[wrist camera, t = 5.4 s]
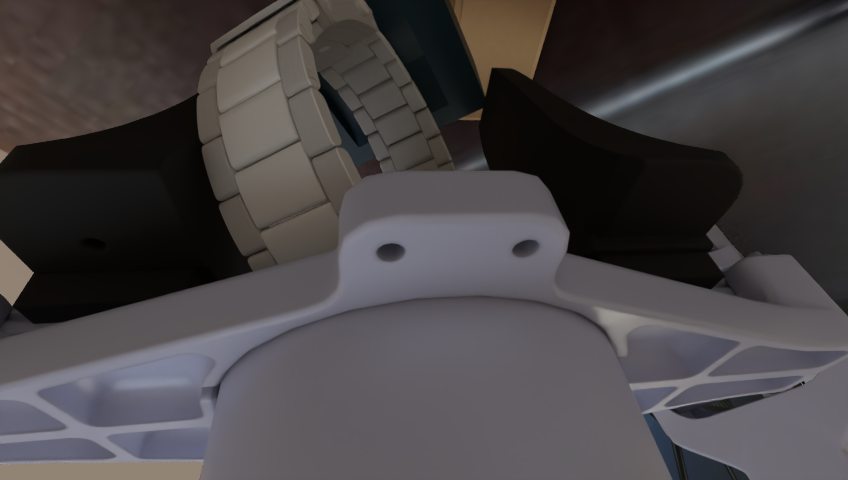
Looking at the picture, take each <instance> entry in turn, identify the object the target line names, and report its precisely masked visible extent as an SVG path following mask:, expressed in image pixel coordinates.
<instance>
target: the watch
mask: <svg viewBox="0 0 848 480" xmlns="http://www.w3.org/2000/svg"><path fill="white" fill-rule="evenodd" d="M211 52H212V54H213V55H212V56H211V57H210V58H209V59H208V62H207V63H208V65H206V66H205V68H204V69H203V71H202V74H201V76H200V80H199V84H198V93H199V94H200V95H199V96H198V98H197V124H198V133H199V138H200V141H201V142H202V143H203V144H205V145H204V146H203V147H202V154H203V159H204V163H205V167H206V170H207V174H208V177H209V180H210V183H211V186H212V189H213V192H214V195H215V197H216V199H217V200H219V201H224V202H222V203H220V205H219V209H220V212H221V214H222V217H223V219H224V221H225V223H226V226H227V228H228V230H229V232H230V234H231V236H232V238H233V240H234V242H235V243H236V245H237V247H238V249H239V251H240V252H241V254H242V255H243V256H249V255H251V254H253V255H252V256H250V257H249V258H248V263H249V265H250V267H251V268H252V270H253V271H257V270H261V269H264V268H268V267H272V266H276V265H279V264H283V263H287V262H291V261H294V260H298V259H302V258H306V257H309V256H313V255H317V254H321V253H324V252H328V251H332V250H334V249H336V248H337V247H338V238H339V212H340V209H341V205H342V202H343V198H344V195H345V192H347V191H348V190H349V189H350V188H352V187H353V186H354V185H355V184H357V183H358V182H359V181H361V180H362V179H361V177H360V175H359V173H358V171H357V169H356V166H358V165H360V164H362V163H365V162H367V161H369V160H371V159H373V158H377V159H378V160H379V161H380V160H382V159H385V158H387V157H389V156H391V157H390V158H387V159H385V160H383V161H381V162H380V166H381V169H382V171H383V173H385V172H390V171H403V170H406V169H408V168H410V167H413V166H415V165H417V164H420V163H422V162H424V161H426V160H429V159H431V158H433V157H434V159H432V160H429V161H427V162H425V163H422V164H420V165H418V166H415V167H413V168H411V169H409V170H406V171H456V169H455V167H454V164H453V163H452V162H450V161H452V158H451V156H450V153H449V151H448V149H447V147H446V144H445V142H444V140H443V138H442V136H441V135H438V134H440V130H439V128H441V127H443V126H445V125H448V124H450V123H452V122H454V121H456V120H459V119H461V118H463V117H465V116H467V115H469V114H472V113H474V112H476V111H478V110H480V109H483V105H484V101H485V94H484V90H483V87H482V84H481V81H480V78H479V74H478V71H477V68H476V65H475V62H474V59H473V56H472V54H471V52H470V49H469V47H468V44H467V42H466V39H465V37H464V34H463V32H462V29H461V27H460V24H459V22H458V20H457V17H456V15H455V12H454V10H453V7H452V5H451V2H450V0H278V1H276V2H274V3H273V4H271V5H270V6H268V7H266V8H265V9H263V10H262V11H260V12H258V13H257V14H255V15H254V16H252V17H251V18H249V19H248V20H246V21H244V22H243V23H241V24H240V25H238V26H237V27H235V28H234V29H232V30H231V31H229V32H228V33H226V34H225V35H223V36H222V37H220V38H219V39H218V40H216V41H215V42H213V43H212V44H211ZM435 135H438V136H436V137H434V138H432V139H429V138H431V137H433V136H435ZM428 139H429V140H428ZM448 162H450V163H448ZM445 163H448V164H445ZM443 164H445V165H443ZM441 165H443V166H441ZM439 166H441V167H439ZM327 200H330V201H329V202H327V203H325V204H323V205H320V206H318V207H316V208H313V209H311V210H309V211H307V212H304V213H302V214H300V215H297V216H295V217H293V218H291V219H288V220H286V221H284V222H281V223H279V224H277V225H275V226H272V227H270V228H269V226H270V225H272V224H274V223H277V222H279V221H281V220H283V219H286V218H288V217H290V216H292V215H295V214H297V213H299V212H302V211H304V210H306V209H308V208H311V207H313V206H315V205H317V204H320V203H322V202H324V201H327ZM265 248H267V249H265ZM263 249H265V250H263ZM261 250H262V251H261ZM258 251H260V252H258ZM256 252H258V253H256ZM254 253H255V254H254Z"/></svg>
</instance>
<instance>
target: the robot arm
mask: <svg viewBox="0 0 848 480" xmlns="http://www.w3.org/2000/svg"><path fill="white" fill-rule="evenodd" d="M199 95H200V94H199V93H197V94H195V95H194V96H192V97H191V98H189V99H187V100H185V101H183V102H181V103H179V104H177V105H175V106H173V107H170V108H168V109H166V110H164V111H161V112H159V113H156V114H154V115H151V116H148V117H145V118H142V119H139V120H136V121H133V122H130V123H128V124H125V125H121V126H118V127H114V128H110V129H107V130H103V131H99V132H94V133H90V134H85V135H81V136H76V137H71V138H65V139H59V140H53V141H46V142H40V143H34V144H27V145H20V146H16V147H15V148H14V149H13V150H12V151H11V152H10V153H9V154H8V155H7V157H6V158H5V159H4V160H3V161H2V162H1V163H0V240H1V241H3V243H5V245H6V246H7V247H8V248H9V249H11V251H13V253H15V254H16V255H17V256H18V257H19V258H20V259H21V260H22V261H23V262H24V263H25V264H26V265H27V266H28V267H29V268H30V269H31V270H32V271H33V272H34V274H33V275H32V277H31V278H30V280H29V282H28V283H27V284H26V286H25V288H24V289H23V291H22V292H21V294H20V295H19V297H18V299H17V300H16V301H15V303H14V305H13V306H11V304H10V303H9V302H8V301H7V300H6V299H5V298H4V297H3V296H2V295H1V294H0V465H3V464H27V463H69V462H203V466H202V471H201V475H200V480H672V477H671V475H670V473H669V471H668V469H667V466H666V464H665V462H664V460H663V458H662V455H661V453H660V451H659V449H658V447H657V444H656V442H655V440H654V438H653V436H652V433H651V431H650V429H649V427H648V425H647V422H646V420H645V418H644V416H643V414H647V413H653V414H654V416H655V417H656V419H657V420H658V422H659V424H660V425H661V427H662V429H663V430H664V432H665V433H666V435H668V436H669V437H670V438H671V440H672V442H673V443H675V444H676V445H678V446H680V447H682V448H684V449H687V450H689V451H691V452H694V453H697V454H699V455H702V456H705V457H708V458H710V459H713V460H716V461H718V462H721V463H724V464H726V465H729V466H732V467H734V468H736V469H738V470H740V471H742V472H744V473H745V474H746V475H747V476H748V478H749V479H750V480H848V316H847V315H846V314H845V313H844V312H843V311H842V310H841V309H840V307H839V306H838V305H837V304H836V303H835V302H834V301H833V300H832V299H831V298H830V297H829V296H828V294H827V293H826V292H825V291H824V290H823V289H822V288H821V287H820V286H819V285H818V284H817V283H816V282H815V280H814V279H813V278H812V277H811V276H810V275H809V274H808V273H807V272H806V271H805V270H804V269H803V267H802V266H801V265H800V264H799V263H798V262H797V261H796V260H795V259H794V258H793V257H792V256H791V255H771V254H765V253H764V254H761V253H760V252H758V251H755V252H753V253H751V254H749V255H747V257H746V258H744V256H743V255H742V254H741V253H740V252H739V251H738V250H737V249H736V248H735V247H734V246H733V245H732V244H731V243H730V242H729V241H728V239H727V238H726V237H725V236H724V235H723V233H722V232H721V231H720V230H719V228H718V227H717V226H716V225H715V224H716V223H717V222H718V221H719V219H720V218H721V217H722V216H723V215H724V214H725V213H726V212H727V210H728V209H729V208H730V207H731V206H732V204H733V203H734V201H735V200H736V199H737V197H738V195H739V193H740V190H741V188H742V185H743V174H742V172H741V171H740V169H739V167H738V166H737V165H736V164H735V163H734V162H733V161H732V160H731V159H730V158H729V157H728V156H727V155H726V154H725V153H723V152H721V151H715V150H709V149H704V148H698V147H692V146H687V145H681V144H677V143H673V142H669V141H665V140H661V139H656V138H653V137H649V136H646V135H642V134H639V133H636V132H633V131H630V130H627V129H624V128H622V127H619V126H616V125H614V124H611V123H609V122H606V121H604V120H602V119H599V118H597V117H595V116H593V115H591V114H589V113H587V112H585V111H583V110H581V109H579V108H577V107H575V106H574V105H572V104H570V103H568V102H566V101H565V100H563V99H561V98H560V97H558V96H556V95H555V94H553V93H552V92H550V91H549V90H547V89H546V88H544V87H542V86H541V85H539V84H538V83H536V82H535V81H533V80H532V79H530V78H529V77H527V76H525V75H524V74H522V73H520V72H519V71H517V70H514V69H512V68H492V69H491V73H490V78H489V83H488V87H487V92H486V96H485V101H484V105H483V110H482V115H481V119H480V124H479V131H480V137H481V142H482V147H483V152H484V155H485V158H486V161H487V163H488V166H489V169H490V171H390V172H385V173H381V174H376V175H371V176H366V177H364V178H363V179H362V180H361V181H359V182H358V183H357V184H355V185H354V186H353V187H352V188H350V189H349V190H348V191H347V192H345V195H344V198H343V202H342V205H341V209H340V212H339V238H338V247H337V248H336V249H334V250H332V251H328V252H324V253H321V254H317V255H313V256H309V257H306V258H302V259H298V260H294V261H291V262H287V263H283V264H279V265H276V266H272V267H268V268H264V269H261V270H257V271H253V270H252V268H251V267H250V265H249V263H248V258H249V257H250V256H252V255H253V254H251V255H249V256H243V255H242V254H241V252H240V251H239V249H238V247H237V245H236V243H235V242H234V240H233V238H232V236H231V234H230V232H229V230H228V228H227V226H226V223H225V221H224V219H223V217H222V214H221V212H220V209H219V205H220V203H222V202H224V201H219V200H217V199H216V197H215V195H214V192H213V189H212V186H211V183H210V180H209V177H208V174H207V170H206V167H205V163H204V159H203V154H202V147H203V146H204V145H205V144H203V143H202V142H201V141H200V138H199V133H198V124H197V98H198V96H199ZM263 250H265V249H263ZM261 251H262V250H261ZM258 252H260V251H258ZM258 252H256V253H258ZM254 254H255V253H254ZM816 374H817V375H816ZM814 375H816V376H815V377H814V378H813V380H811V381H809V382H807V383H805V384H804V385H801V386H798V387H795V388H792V389H789V388H791V387H793V386H795V385H797V384H799V383H800V382H802V381H804V380H806V379H808V378H810V377H812V376H814ZM787 389H789V390H787ZM785 390H786V391H785ZM782 391H783V392H782ZM774 392H780V393H777V394H774V395H771V396H768V397H765V398H762V399H759V400H756V401H753V402H750V403H747V404H744V405H741V406H738V407H735V408H732V409H729V410H726V411H718V412H709V411H706V410H703V409H700V407H703V406H706V405H709V404H712V403H715V402H718V401H720V400H723V399H727V398H734V397H741V396H747V395H756V394H765V393H774Z"/></svg>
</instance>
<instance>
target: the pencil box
mask: <svg viewBox="0 0 848 480" xmlns="http://www.w3.org/2000/svg"><path fill="white" fill-rule="evenodd" d="M450 2H451V5H452V7H453V10H454V12H455V15H456V17H457V20H458V22H459V24H460V27H461V29H462V32H463V34H464V37H465V39H466V42H467V44H468V47H469V49H470V52H471V54H472V56H473V59H474V62H475V65H476V68H477V71H478V74H479V78H480V81H481V84H482V87H483V90H484V94H485V96H486V92H487V87H488V83H489V78H490V73H491V69H492V68H512V69H514V70H517V71H519V72H520V73H522V74H524V75H525V76H527V77H529V78H530V79H532V80H533V76H534V73H535V70H536V66H537V63H538V60H539V56H540V53H541V49H542V46H543V43H544V39H545V36H546V33H547V29H548V26H549V23H550V19H551V16H552V13H553V9H554V6H555V2H556V0H450ZM482 110H483V109H480V110H478V111H476V112H474V113H472V114H469V115H467V116H465V117H463V118H461V119H459V120H480V119H481V115H482Z"/></svg>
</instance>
